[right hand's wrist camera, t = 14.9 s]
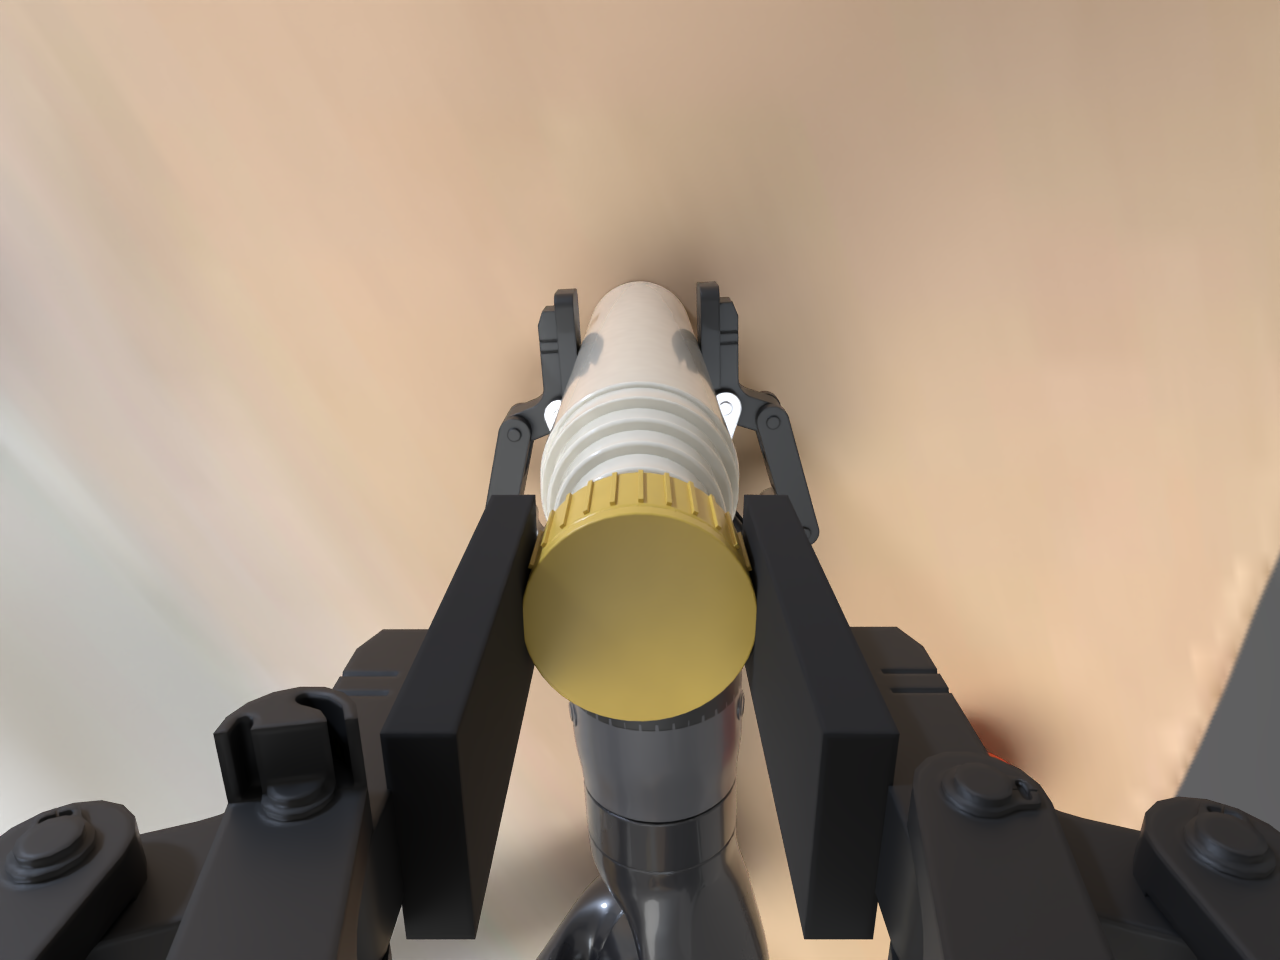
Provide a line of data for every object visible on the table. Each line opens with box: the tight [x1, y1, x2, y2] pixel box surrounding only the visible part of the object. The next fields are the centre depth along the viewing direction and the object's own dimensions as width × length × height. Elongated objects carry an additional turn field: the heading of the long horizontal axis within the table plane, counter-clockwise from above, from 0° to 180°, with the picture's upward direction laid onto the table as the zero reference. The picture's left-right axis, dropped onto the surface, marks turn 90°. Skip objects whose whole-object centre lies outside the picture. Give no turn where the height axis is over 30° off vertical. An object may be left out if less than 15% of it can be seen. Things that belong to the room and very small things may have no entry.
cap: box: [523, 470, 757, 721], centre depth 14 cm, size 4×4×2 cm
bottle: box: [540, 281, 739, 521], centre depth 25 cm, size 5×5×25 cm
